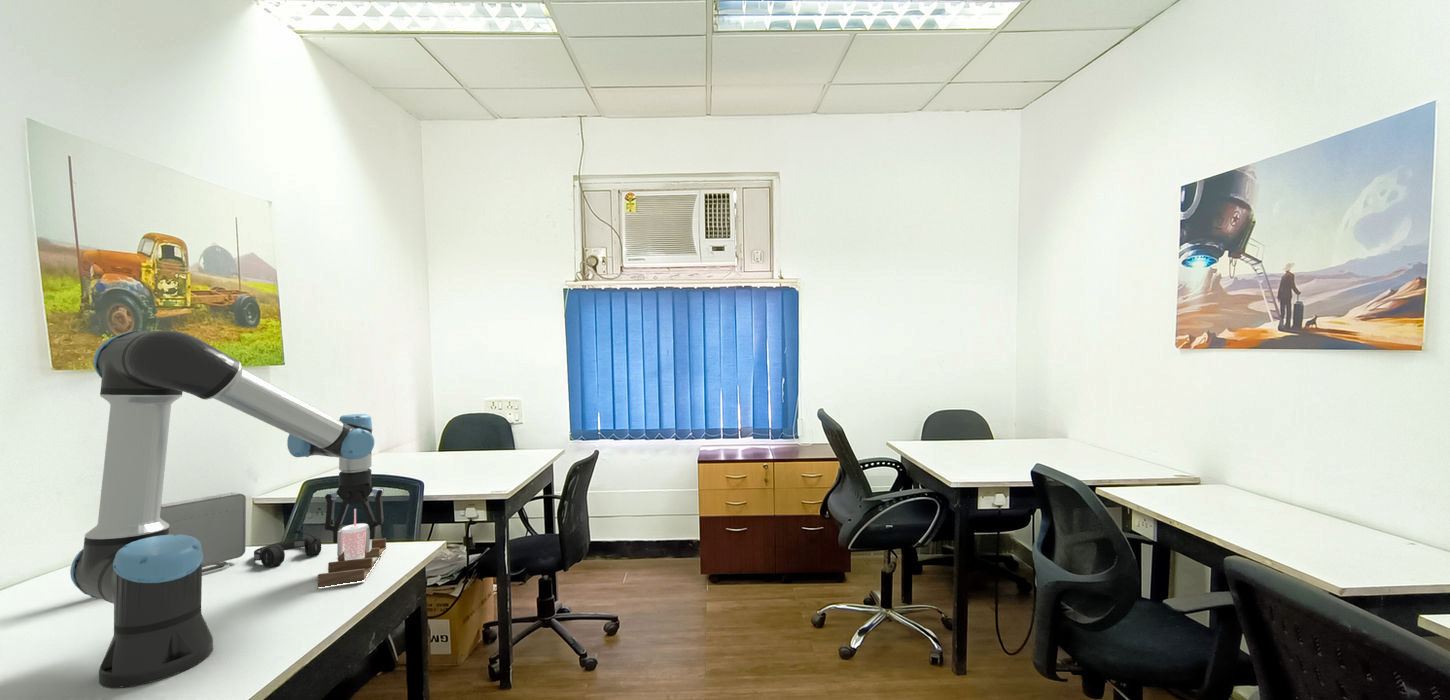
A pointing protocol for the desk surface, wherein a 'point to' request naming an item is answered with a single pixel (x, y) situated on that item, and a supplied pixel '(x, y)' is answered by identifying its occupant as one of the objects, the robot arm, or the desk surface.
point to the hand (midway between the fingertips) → (354, 552)
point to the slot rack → (352, 566)
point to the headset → (276, 553)
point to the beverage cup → (354, 540)
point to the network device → (211, 526)
